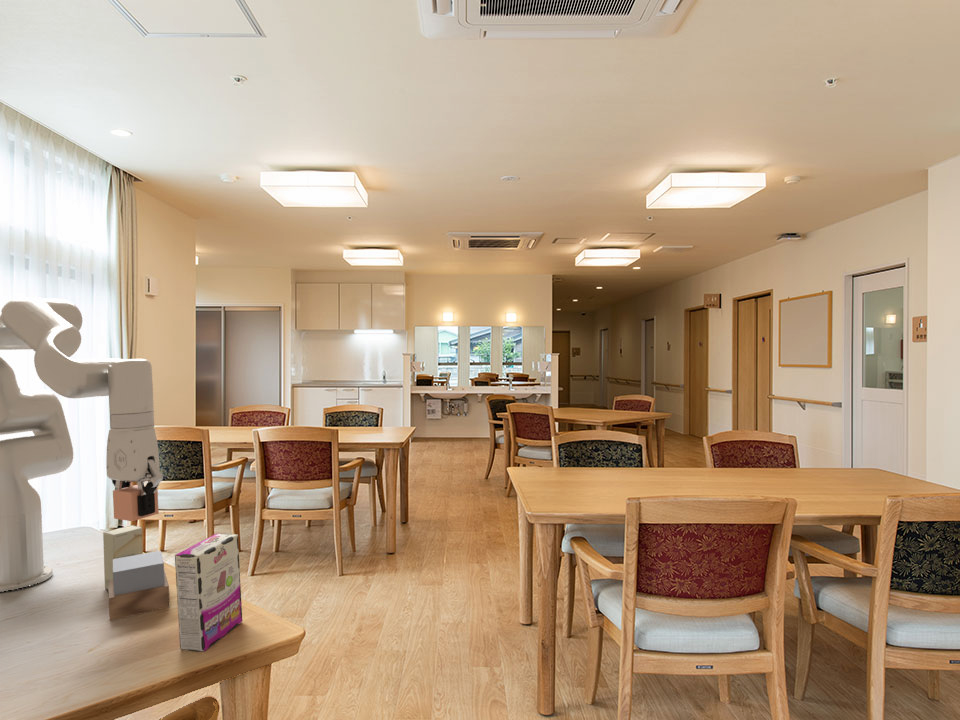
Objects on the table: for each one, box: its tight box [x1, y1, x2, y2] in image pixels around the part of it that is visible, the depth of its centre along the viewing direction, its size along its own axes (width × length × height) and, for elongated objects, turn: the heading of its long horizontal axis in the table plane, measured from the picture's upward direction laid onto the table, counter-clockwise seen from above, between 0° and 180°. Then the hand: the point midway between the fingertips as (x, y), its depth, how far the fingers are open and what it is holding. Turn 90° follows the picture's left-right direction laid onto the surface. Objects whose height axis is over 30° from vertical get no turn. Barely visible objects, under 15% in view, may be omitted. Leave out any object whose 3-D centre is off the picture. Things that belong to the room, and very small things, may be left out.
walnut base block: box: [108, 569, 171, 621], centre depth 118 cm, size 10×10×4 cm
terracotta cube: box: [112, 484, 160, 522], centre depth 118 cm, size 6×6×6 cm
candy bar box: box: [174, 533, 243, 653], centre depth 104 cm, size 11×5×16 cm, turn 168°
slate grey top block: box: [113, 550, 165, 596], centre depth 118 cm, size 8×8×4 cm
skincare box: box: [102, 524, 144, 591], centre depth 128 cm, size 6×4×12 cm
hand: (136, 512), depth 118 cm, fingers closed on terracotta cube, 5 cm apart
